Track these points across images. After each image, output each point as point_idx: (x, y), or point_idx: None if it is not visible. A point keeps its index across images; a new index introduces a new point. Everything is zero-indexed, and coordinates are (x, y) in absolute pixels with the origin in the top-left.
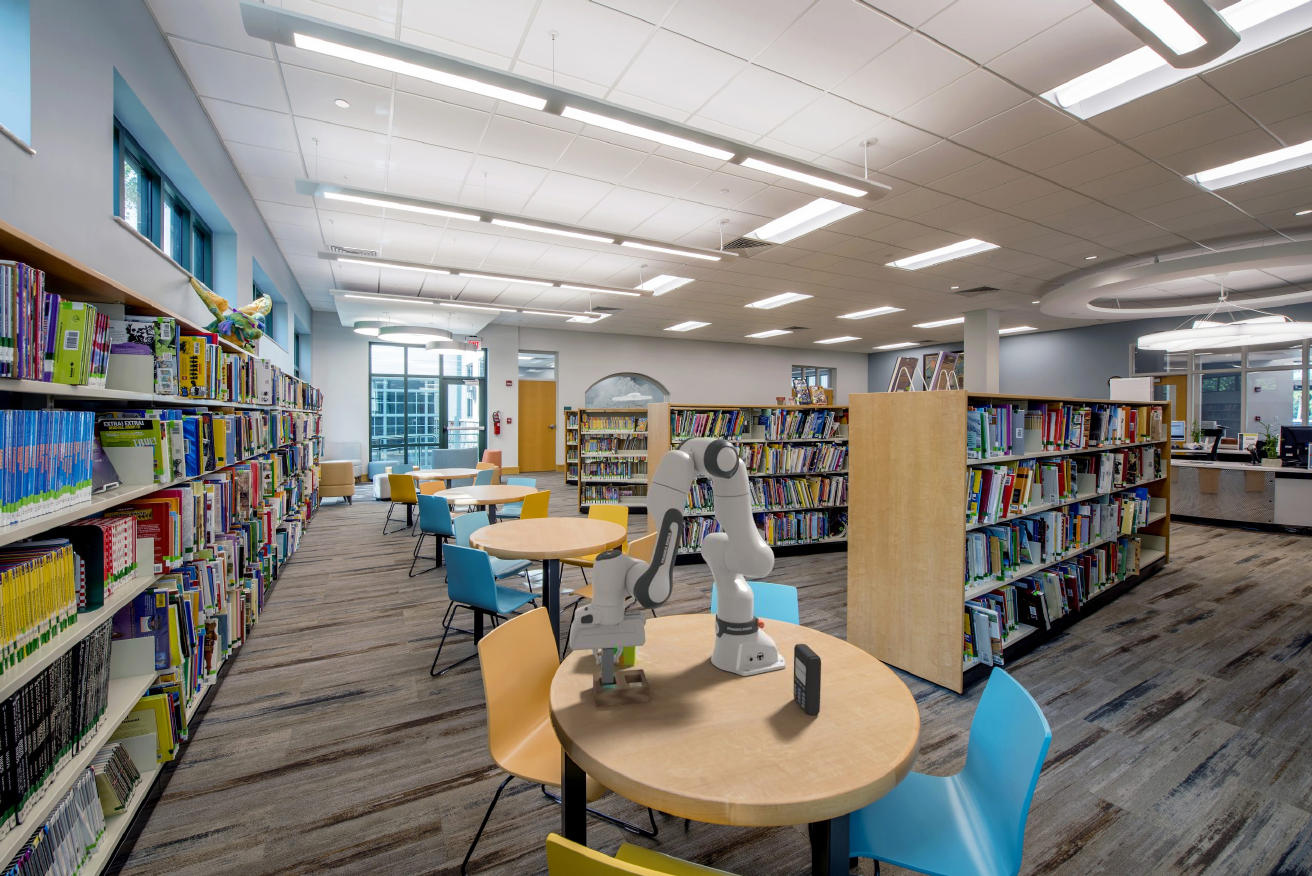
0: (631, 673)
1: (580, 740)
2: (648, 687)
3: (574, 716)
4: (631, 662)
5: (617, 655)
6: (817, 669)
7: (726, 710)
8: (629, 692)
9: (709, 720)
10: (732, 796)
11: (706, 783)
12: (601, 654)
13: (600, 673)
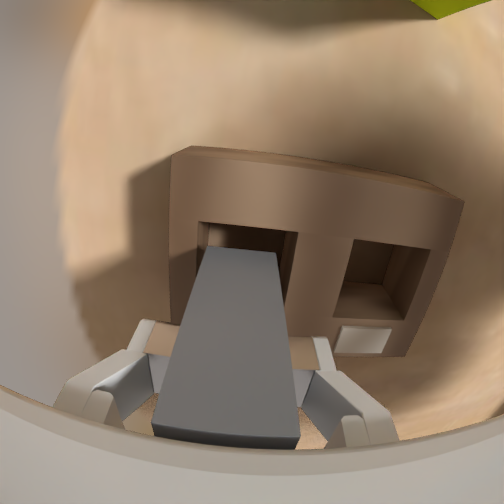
0: (398, 228)
1: (142, 408)
2: (400, 354)
3: (114, 329)
4: (433, 6)
5: (310, 419)
6: None
7: (495, 372)
8: None
9: (447, 400)
10: None
11: None
12: (174, 351)
13: (217, 170)
